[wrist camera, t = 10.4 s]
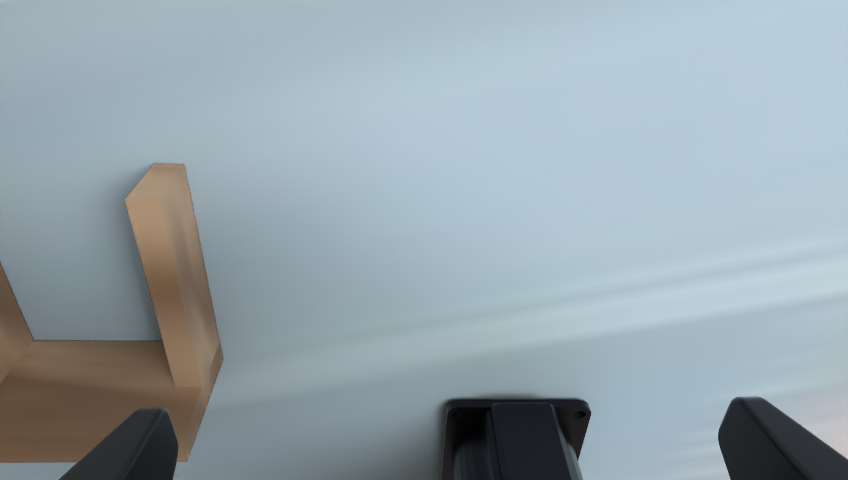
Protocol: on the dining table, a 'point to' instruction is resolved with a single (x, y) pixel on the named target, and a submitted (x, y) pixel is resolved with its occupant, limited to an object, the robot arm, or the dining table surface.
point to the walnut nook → (117, 346)
